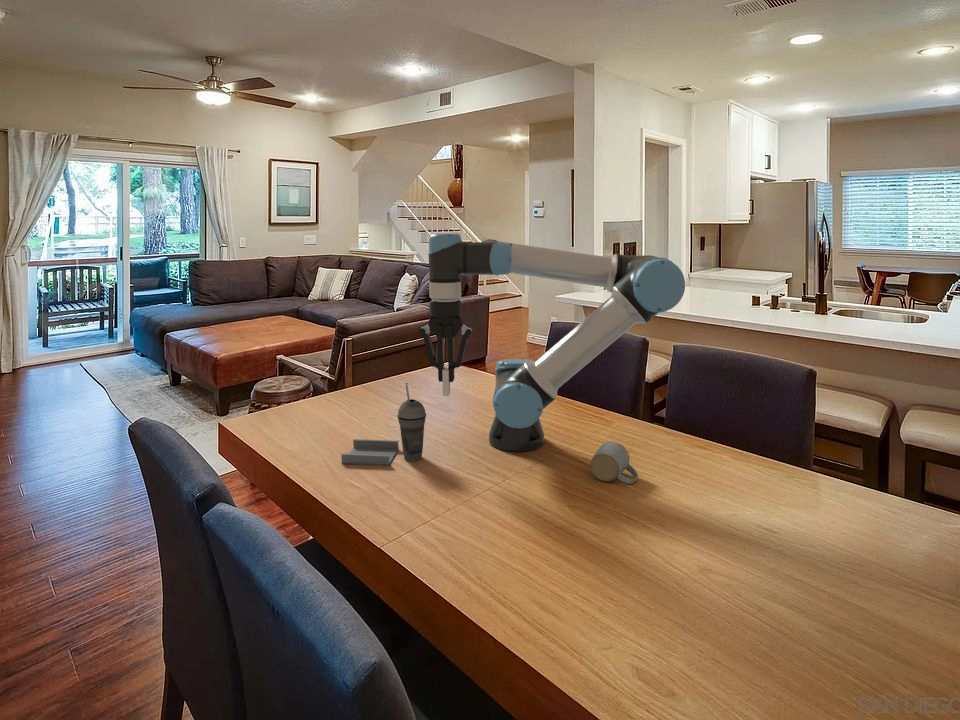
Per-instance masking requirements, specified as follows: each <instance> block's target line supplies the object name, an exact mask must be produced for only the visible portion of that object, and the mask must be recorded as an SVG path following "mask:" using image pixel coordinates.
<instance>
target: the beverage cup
mask: <svg viewBox="0 0 960 720" xmlns="http://www.w3.org/2000/svg"><path fill="white" fill-rule="evenodd" d="M404 385H405V390H406V397H407V398H406V399H407V400H405V401H403V402H402V403H401V404H400V406H399V408H398V411H397V420H398V424H399V431H400V438H401V446H402V454H403V459H404V460H405V461H406V462H408V463H409V462H410V463H411V462H414V463H415V462H420V461H421V460H422V456H423V451H424V450H423V449H424V434H425V423H426V417H427V414H426V408H425V407H424V405H423V404H422V403H421V402H420V401H418V400H417V399H412V398H411V399H410V392H409V387H408V386H409V385H408V382H405V384H404Z"/></svg>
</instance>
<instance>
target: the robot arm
mask: <svg viewBox="0 0 960 720" xmlns="http://www.w3.org/2000/svg"><path fill="white" fill-rule="evenodd" d="M428 271H429V272H428V275H429V276H428V277H429V279H428V281H429V284H428V285H429V287H428V288H429V289H428V290H429V291H428V292H429V295H428V296H429V298H430V299H431V300H430V301H429V320H428V321H427V324H426V325H424V326H421V328H419V330H418V333H419V335H420V336H421V337H422V338H423V341H424V345H425V349H426V354H427V357H428V362H429V364H430V366H431V368H433V367H434V368H436V369H437V373H438V374H437V379H438V382H439V383H440V382H441V383H442V396H444V397H449V396H450V394H451V383H453V382H454V381H455V369H457V368H460V367H461V366H462V363H463V361H464V360H463V359H464V355H465V351H466V346H467V343H468V339H469V336H470V335H471V333H472V332H473V328H472V327H468V326H467V325H465V324H464V320H463V317H462V301H461V300H460V299H461V297H462V275H481V276H482V275H483V276H486V275H487V276H489V275H491V276H492V275H494V276H496V277H497V276H500V275H509V274H514V275H521V276H526V277H527V276H528V277H534V278H540V279H541V278H542V279H547V280H555V281H561V282H569V283H575V284H581V285H588V286H594V287H601V288H605V290H606V291H607V292H609V293H611V295H610V297H609V298H607V300H605V301H604V302H603V303H602V304H601V305H599V306H598V307H597V308H596V309H594V310H593V311H592V312H591V313H590V314H589V315H588V316H587V317H585V318H584V319H583V320H582V321H580V322H579V324H577V325H576V326H574V328H573V329H572V330H570V331H569V332H568V333H567V334H566V335H564V336H563V337H562V338H560V340H558V341H557V342H556V343H555V344H553V346H552V347H550V348H549V349H548V350H547V351H546V352H545V353H543V354H542V355H541V356H540V357H539V358H537V360H532V359H520V358H513V359H511V358H510V359H509V358H508V359H501V360H498V361H497V362H496V364H495V365H496V366H495V370H494V372H495V388H494V393H493V396H492V397H493V398H492V405H493V409H494V413H495V415H494V418H493V421H492V423H491V427H490V429H489V433H488V442H489V444H490V446H492V447H494V448H496V449H499V450H501V451H506V452H507V451H508V452H518V453H521V452H530V451H534V450H538V449H540V448H541V447H542V446H543V445H544V444H545V432H544V430H543V427H542V426H543V425H542V424H541V419H540V417H541V415H543V410H544V409H546V408H547V407H548V406H549V405H550V404H551V403H553V402H554V401H555V400H556V399H557V398H558V397H557V396H558V390H559V388H561V387H562V386H563V385H564V384H565V383H567V382H568V381H569V380H570V379H572V377H573V376H575V375H576V374H578V373H579V371H580V372H581V370H582V369H583V368H584V367H585V366H587V365H589V363H591V362H592V361H593V360H594V359H595V358H596V357H598V356H599V355H601V353H603V352H604V351H605V350H606V349H607V348H608V347H609V346H611V345H612V344H613V343H614V342H616V341H617V340H618V339H619V338H620V337H621V336H623V334H625V333H626V332H628V330H630V329H631V328H633V326H635V325H637V324H638V325H639V324H641V325H645V324H647V323H648V322H650V321H651V320H652V319H653V318H654V317H656V316H657V315H658V314H660V313H665V312H667V311H669V310H672V309H673V308H675V307H676V306H677V305H678V304H679V303H680V302H681V300H682V299H683V296H684V294H685V290H686V279H685V275H684V273H683V271H682V270H681V269H680V267H679V266H678V265H677V264H676V263H674V261H672V260H670V259H668V258H666V257H657V256H655V255H649V254H648V255H626V254H625V255H624V254H618V253H615V254H613V255H611V256H604V255H602V256H601V255H596V254H589V253H581V252H574V251H569V250H560V249H556V248H547V247H540V246H533V245H529V244H528V245H527V244H520V243H511V242H506V241H499V240H496V239H490V238H489V239H484V240H482V241H481V242H480V241H479V242H478V241H477V242H476V241H475V242H468V241H467V242H466V241H463V240H462V236H461V235H460V233H451V232H450V233H447V232H446V233H444V232H443V233H442V232H441V233H437V232H436V233H432V234H431V235H430V236H429V240H428ZM460 330H461V335H462V338H461V341H460V345H459V349H458V353H457V356H456V361H455V338H456V336H457V334H458V333H459V332H460ZM431 331H432V333H433V334H434V335H435V336H436V342H437V344H436V345H437V356H436V354H435V350H434V346H433V342H432V337H431V335H430V333H431ZM445 338H446V339H447V360H448V362H447V363H448V365H447V367H445Z"/></svg>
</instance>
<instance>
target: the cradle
mask: <svg viewBox="0 0 960 720" xmlns="http://www.w3.org/2000/svg"><path fill="white" fill-rule="evenodd" d="M352 441H353V443H352V444H353V448H352V449H351V450H350V451H349V453H341V454H340V457H341V458H340V459H341V464H342V465H358V466H359V465H363V466H384V467H385V466H387V467H389V466H390V465H391V464H392V463H391V462H393V460H394V458H395V457H396V454H397V452H398V451H399V446H400V445H399V440H394V439H393V440H392V439H388V440H387V439H386V440H385V439H366V438H354V439H352Z"/></svg>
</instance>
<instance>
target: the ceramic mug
mask: <svg viewBox="0 0 960 720" xmlns="http://www.w3.org/2000/svg"><path fill="white" fill-rule="evenodd" d="M625 470H626V471H627V472H628V473H630V474H631V476H632V477H633V478H629V477H628V476H626V475H624V474H622V473H623V472H624V471H625ZM590 471H591V473H592V474H593V476H594V477H595V478H596V479H598V480H600V481H602V482H605V483H606V482H607V483H608V482H609V483H610V482H612V481H614V480H617V479H618V480H619V481H621V482H622V483H625V484H629V485H630V484H631V485H632V483H633V484H635V483H636V482H635V481H637V480H638V478H639V473H638V471H636V469H635V468H634V467H633V466H632V465H630V453H629V451H628V450H627V448H626V447H625V446H624V445H622V444H621V443H620V442H617V441H615V440H614V441H606V442H603V443H602V444H601V445H600V447H598V449H597V451H596V452H595V453H594V455H593V456H592V458H591V461H590ZM634 482H635V483H634Z"/></svg>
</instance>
